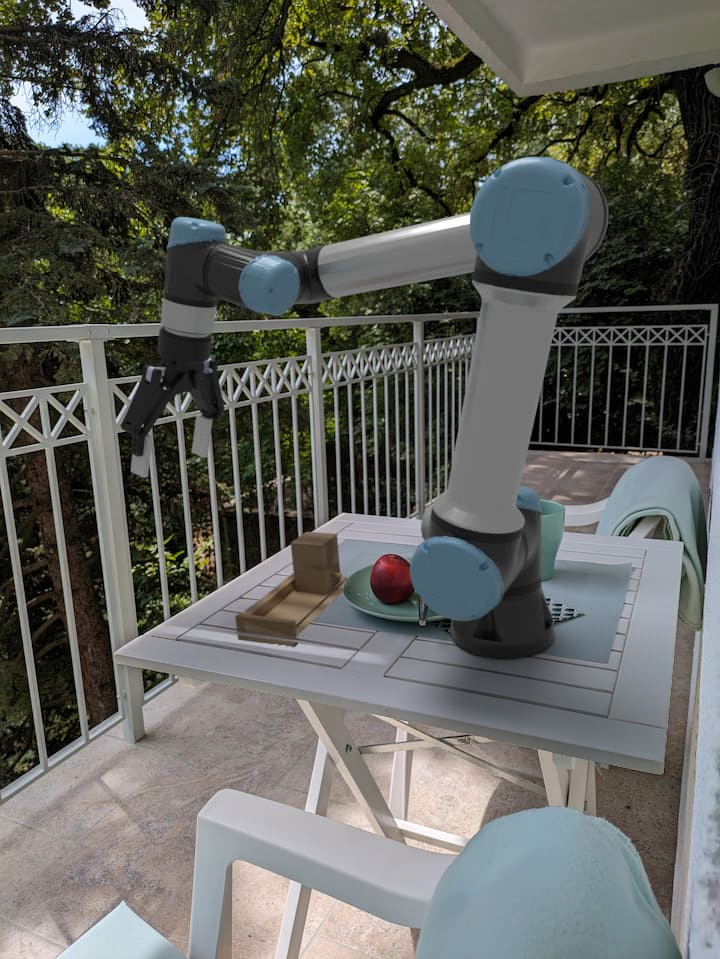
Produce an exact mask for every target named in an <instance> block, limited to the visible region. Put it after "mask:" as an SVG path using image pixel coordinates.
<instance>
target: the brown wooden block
mask: <svg viewBox="0 0 720 959" xmlns="http://www.w3.org/2000/svg"><path fill="white" fill-rule="evenodd" d="M338 541H339V540H338V534H337V533H329V532H328V533H327V532H316V531H315V532H314V531H306V532H304V533H303V534H300V536H298V537H297V538H296V539H295V540H292V541H291V542H290V547H291V548H290V549H291V559H292V568H293V570H292V571H293V573H294V580H295V591H296V592H304V593H314V594H323V595H327V594H328V593H329V592H330V591H331V590H332V589H333V588H334V587H336V586H337V585H338V584H339V583H340V582H341V577H343V574H342V573H341V567H340V555H339V544H338V543H339V542H338Z"/></svg>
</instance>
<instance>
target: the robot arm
mask: <svg viewBox="0 0 720 959" xmlns="http://www.w3.org/2000/svg"><path fill="white" fill-rule="evenodd" d="M601 188H602V187H601V186H600V185H599V184H598V183H597V182H596V181H595V180H594V179H593V178H592V177H590V176H589V175H587V174H586V173H584V172H582V171H580V170H577V169H575V168H573V166H572V165H570V164H569V163H567V162H564V161H563V160H561V159H557V158H556V159H555V158H551V157H548V156H545V157H543V156H528V157H527V156H526V157H522V158H519V159H515V160H514V159H513V160H512V161H510V162H508V163H506V164H504V165H502V166H501V167H499V168H498V169H496V170H495V171H494V172H493V173H491V175H489V177H487V179H486V180H485V181H484V182H483V184H482V185H481V186H480V188H479V190H478V191H477V193H476V196H475V198H474V199H473V200H474V201H473V202H472V206H471V211H469V212H465V213H462V214H456V215H452V216H449V217H448V216H447V217H444V218H441V219H435V220H431V221H426V222H422V223H419V224H417V223H416V224H414V225H409V226H405V227H401V228H396V229H391V230H388V231H383V232H380V233H374V234H371V235H366V236H365V235H364V236H362V237H357V238H352V239H349V240H344V241H339V242H336V243H332V244H327V245H323V246H318V247H314V248H309V249H305V250H299V251H274V250H273V251H272V250H271V251H269V250H267V251H265V250H255V249H254V250H252V249H251V248H245V247H241V246H236V245H235V244H231V243H228V242H227V238H226V228H225V226H223V225H221V224H218V223H216V222H214V221H211V220H205V219H200V218H194V217H186V216H178V217H176V218H174V219H173V220H172V222H171V225H170V231H169V237H168V243H167V246H166V263H165V275H164V276H165V278H164V279H165V280H164V289H163V297H162V298H163V299H162V307H161V315H160V316H161V317H160V324H161V328H160V329H159V332H158V338H157V339H158V341H157V352H158V354H159V356H160V358H161V360H160V363H159V366H152V365H149V364H145V365H144V366H143V368H142V372H141V379H140V381H139V384H138V386H137V389H136V391H135V393H134V395H133V398H132V400H131V401H130V404H129V407H128V408H127V411H126V413H125V416H124V417H123V420H122V423H121V424H120V428H121V430H122V431H125V432H127V433H129V434H131V442H130V444H131V445H130V454H131V455H132V456H131V462H130V463H131V464H130V472H131V473H133V474H135V475H137V476H138V477H141V478H148V477H149V471H150V470H149V468H150V463H151V462H150V460H151V450H152V442H153V441H152V440H153V435H151V434H149V433H150V432H151V430H152V429H153V427H154V426H155V424H156V422H157V421H158V419H159V417H160V416H161V414H162V413H163V411H164V410H165V408H166V407H167V406H168V405H169V402H170V401H173V400H174V399H175V398H176V396H177V395H181V394H184V393H189V394H190V395H191V398H192V399H193V401H194V403H195V404H196V407H197V409H198V410H199V414H197V415H196V416H195V423H194V432H193V438H192V448H191V453H192V454H195V455H197V456H199V457H202V458H203V459H204V458H208V457H209V456H208V455H209V447H210V442H211V441H210V440H211V435H212V432H213V426H214V420H216V421H217V420H219V419H220V418H221V413H223V412H224V411H225V404H224V400H223V395H222V389H221V385H220V381H219V380H220V379H219V376H218V365H219V362H218V360H216V359H214V358H211V350H212V343H213V342H212V340H213V337H212V336H211V334H212V333H213V332H214V329H215V321H216V320H215V319H216V315H217V314H216V313H217V303H218V299H219V300H222V301H226V302H228V303H232V304H234V305H237V306H240V307H242V308H245V309H249V310H251V311H254V312H255V313H257V314H266V315H267V314H268V315H270V316H276V317H278V316H283V315H285V314H286V313H287V311H288V310H290V309H291V308H292V307H293V306H294V305H302V304H303V305H304V304H305V305H311V304H312V305H313V304H319V303H322V302H325V301H326V300H327V301H328V300H331V299H335V298H340V297H345V296H351V295H357V294H362V293H367V292H372V291H377V290H383V289H388V288H390V289H391V288H394V287H401V286H405V285H410V284H417V283H421V282H426V281H432V280H437V279H442V278H447V277H448V278H449V277H454V276H460V275H464V274H465V275H466V274H470V273H473V275H472V280H471V281H472V282H471V284H473V286H474V288H475V289H476V291H477V293H478V294H479V295H480V298H481V301H482V302H481V307H480V312H479V317H478V322H477V323H478V324H477V327H476V333H475V339H474V344H473V350H472V353H471V354H472V355H471V359H470V364H469V365H470V366H469V370H468V376H467V382H466V388H465V391H464V392H465V393H464V399H463V404H462V409H461V415H460V420H459V424H458V425H459V426H458V432H457V437H456V443H455V447H454V453H453V458H452V464H451V469H450V474H449V480H448V485H447V489H446V491H445V492H443V493H442V494H441V495H439V496H437V497H436V498H435V499H434V500H433V503H432V504H431V506H432V510H431V516H430V521H429V527H428V532H427V537H426V540H424V541H422V542H421V543H420V544H418V546H417V547H416V549H415V551H414V554H413V555H412V557H411V560H410V564H409V575H410V580H411V581H410V582H411V584H412V587H413V589H414V591H415V593H416V594H418V596H419V597H420V598H421V600H422V602H423V603H424V604H425V606H427V608H429V609H430V610H432V611H433V612H435V614H438V615H439V616H442V617H444V618H447V619H449V620H451V621H450V622H451V623H450V626H451V638H452V640H453V642H454V644H456V645H457V646H458V647H459V648H461V649H463V650H464V651H466V652H468V653H470V654H474V655H477V656H480V657H486V658H491V659H518V658H519V659H521V658H526V657H531V656H533V655H537V654H539V653H541V652H543V651H545V650H547V648H549V647H551V645H552V643H553V642H554V641H555V622H554V618H553V616H552V613H551V610H550V607H549V605H548V602H547V599H546V596H545V593H544V590H543V587H542V514H543V509H542V503H541V496H540V494H539V492H538V491H537V490H535V489H533V488H531V487H527V486H524V485H521V482H522V477H523V473H524V468H525V464H526V459H527V455H528V451H529V446H530V441H531V437H532V433H533V428H534V423H535V418H536V414H537V411H538V405H539V401H540V400H539V399H540V396H541V392H542V389H543V388H542V386H543V383H544V379H545V378H544V377H545V373H546V369H547V364H548V360H549V356H550V352H551V345H552V341H553V338H554V337H553V336H554V333H555V328H556V324H557V319H558V314H559V312H560V311H561V310H562V309H563V308H564V307H566V306H567V305H568V304H569V303H571V302H573V301H574V300H575V299H576V298H577V295H578V294H577V293H578V290H579V285H580V281H581V276H582V272H583V268H584V263H585V261H588V259H589V258H591V257H592V256H593V254H594V253H596V251H597V250H598V248H599V247H600V246H601V244H602V243H603V242H602V241H603V240H604V238H605V235H606V233H607V229H608V224H609V206H608V203H607V198H606V196H605V195H604V192H603V190H602V189H601Z"/></svg>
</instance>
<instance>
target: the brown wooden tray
mask: <svg viewBox="0 0 720 959" xmlns="http://www.w3.org/2000/svg"><path fill="white" fill-rule="evenodd" d="M348 578H349V577H347V576H346V577H345V576H344V577H343V576H342V577H341V582H340V583H339V584H338V585H337V586H336V587H334V588H333V589H332V590H331V591H330V592H329V593H328V594H327V595H323V594H314V593H304V592H296V591H295V580H294V572H293V573H291V574H290V575H289V576H288V577H286V578H285V579H284V580H283V581H281V582H280V583H279V584H278V585H276V586H275V587H273V589H271V590H270V591H269V592H267V593H266V594H265V595H263V596H262V597H261V598H260V599H259V600H258V601H256V602H255V603H254V604H253V605H251V606H250V607H249V608H248V609H246V610H245V611H244V612H243V613H236V615H235V616H234V617H235V625H236V631H237V632H241V633H248V634H256V635H263V636H272V637H277V638H278V637H279V638H286V639H292V640H293V639H295V638H296V637H297V636H298V635H299V634H300V633H301V632H303V631H304V630H305V628H307V627H308V625H309V624H311V623H312V622H313V621H314V620H315V618H317V617H318V616H319V615H320V614H321V613H322V612H323V611H324V610H325V609H326V608H327V607H328V606H330V604H331V603H332V602H333V601H334V600H335V599H336V598H337V597H338V596H339V595H340V594H342V592H343V591H344V590H343V586H344V583H345V581H346V580H347V579H348ZM237 639H238V640H240V641H245V642H246V641H247V642H252V643H253V642H255V643H261V644H266V643H267V645H273V644H278V645H277V646H281V645H286V646H285V647H288V646H291V647H290V648H296V647H297V646H298V645H299V644H298V643H299V642H297V641H296V642H295V641H290V640H289V641H287V640H282V639H276V638H275V639H274V638H268V637H267V638H266V637H258V636H251V635H243V634H237ZM297 644H298V645H297ZM296 645H297V646H296ZM295 646H296V647H295Z"/></svg>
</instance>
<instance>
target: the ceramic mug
mask: <svg viewBox="0 0 720 959" xmlns="http://www.w3.org/2000/svg"><path fill="white" fill-rule="evenodd" d="M431 510H432V505H429V506H427V508H426V510H425V511H424V513H423V515H422V518H421V523H420V524H421V525H420V531H421V536H422V539H423V540H424V541H425V540H426V537H427V532H428V527H429V521H430V516H431Z"/></svg>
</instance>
